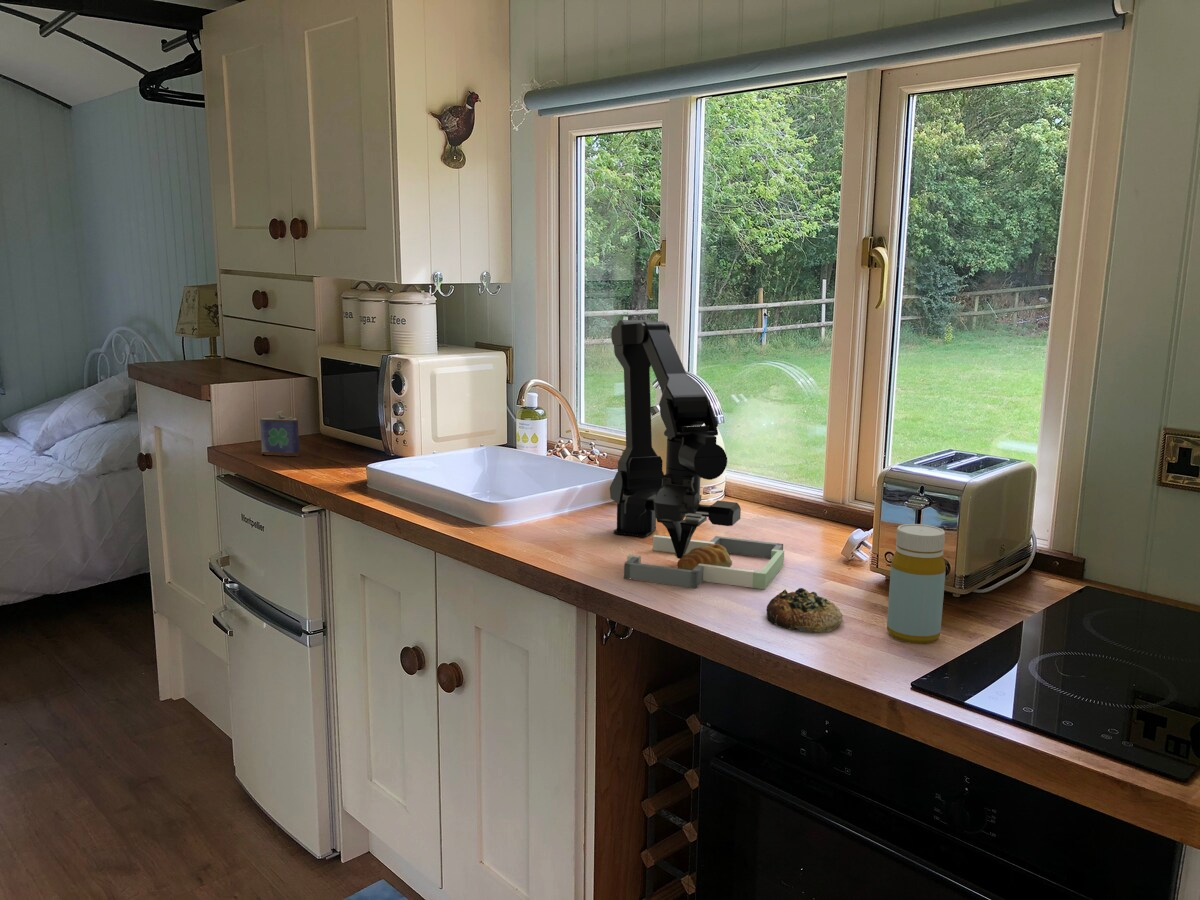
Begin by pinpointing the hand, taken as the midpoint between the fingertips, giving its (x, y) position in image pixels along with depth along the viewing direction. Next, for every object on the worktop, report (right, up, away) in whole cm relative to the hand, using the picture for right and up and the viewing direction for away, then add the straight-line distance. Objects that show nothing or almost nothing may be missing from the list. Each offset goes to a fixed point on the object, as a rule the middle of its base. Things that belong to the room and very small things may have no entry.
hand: (680, 558), depth 166 cm
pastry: (+4, -2, -2) cm, 5 cm away
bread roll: (+16, -7, -25) cm, 30 cm away
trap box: (+4, -1, -1) cm, 4 cm away
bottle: (+29, -7, -30) cm, 43 cm away
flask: (-95, +17, +88) cm, 131 cm away
